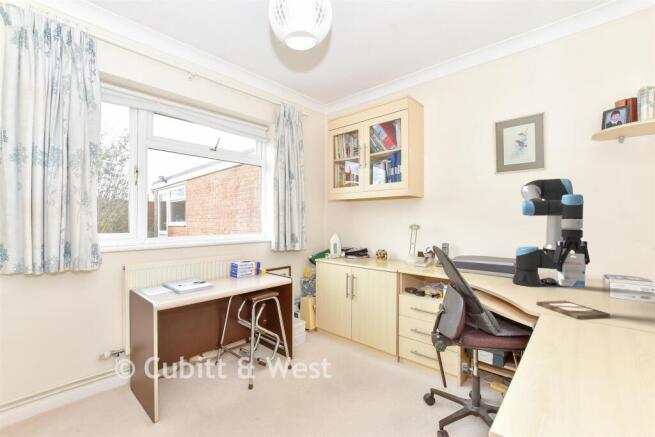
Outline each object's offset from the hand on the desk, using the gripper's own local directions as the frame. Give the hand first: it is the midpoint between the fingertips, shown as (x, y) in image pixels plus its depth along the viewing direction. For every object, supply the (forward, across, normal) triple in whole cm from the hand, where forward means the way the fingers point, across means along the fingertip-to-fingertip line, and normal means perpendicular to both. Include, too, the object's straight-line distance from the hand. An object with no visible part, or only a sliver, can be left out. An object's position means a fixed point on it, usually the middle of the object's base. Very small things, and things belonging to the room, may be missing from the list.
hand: (571, 278), depth 135 cm
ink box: (+3, 0, 0) cm, 3 cm away
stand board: (+14, 0, 0) cm, 14 cm away
